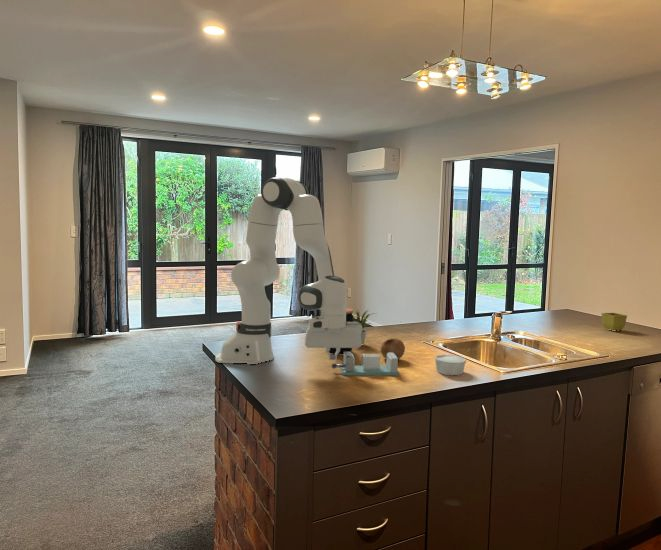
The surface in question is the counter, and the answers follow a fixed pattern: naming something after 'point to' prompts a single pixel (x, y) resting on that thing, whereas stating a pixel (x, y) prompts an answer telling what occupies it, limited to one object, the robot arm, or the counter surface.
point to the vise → (384, 370)
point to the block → (370, 362)
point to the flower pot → (613, 321)
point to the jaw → (346, 362)
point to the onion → (393, 347)
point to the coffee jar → (348, 319)
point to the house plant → (362, 324)
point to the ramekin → (450, 364)
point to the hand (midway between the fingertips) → (332, 359)
